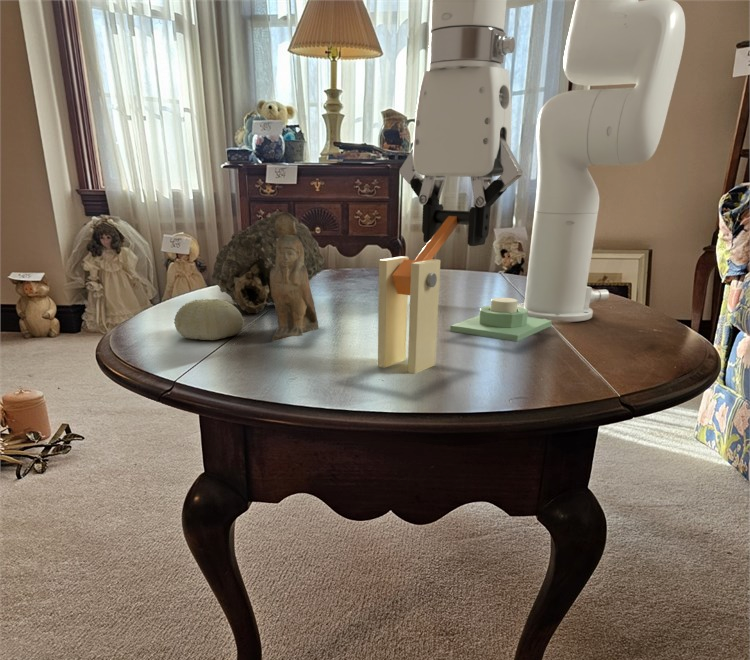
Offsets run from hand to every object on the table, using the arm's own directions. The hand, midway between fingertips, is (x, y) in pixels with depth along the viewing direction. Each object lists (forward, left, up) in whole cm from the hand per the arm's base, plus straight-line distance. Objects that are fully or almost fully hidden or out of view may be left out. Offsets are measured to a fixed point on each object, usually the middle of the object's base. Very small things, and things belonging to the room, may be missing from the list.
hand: (454, 241), depth 75 cm
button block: (-13, -8, -14) cm, 21 cm away
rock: (+13, -42, -14) cm, 46 cm away
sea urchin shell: (+25, -24, -14) cm, 37 cm away
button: (-13, -8, -10) cm, 18 cm away
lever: (+4, +2, -1) cm, 5 cm away
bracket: (+8, +5, -14) cm, 17 cm away
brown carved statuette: (+14, -19, -14) cm, 27 cm away
